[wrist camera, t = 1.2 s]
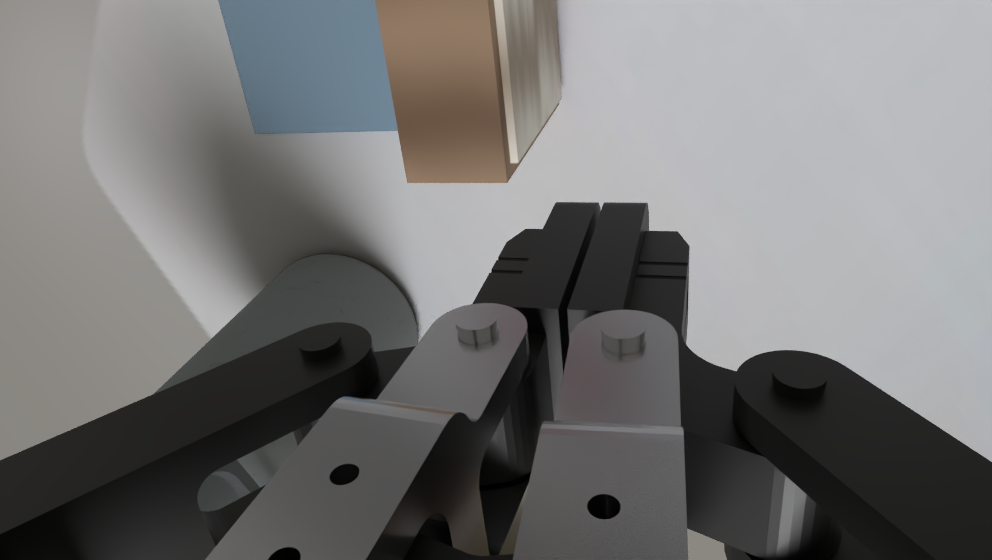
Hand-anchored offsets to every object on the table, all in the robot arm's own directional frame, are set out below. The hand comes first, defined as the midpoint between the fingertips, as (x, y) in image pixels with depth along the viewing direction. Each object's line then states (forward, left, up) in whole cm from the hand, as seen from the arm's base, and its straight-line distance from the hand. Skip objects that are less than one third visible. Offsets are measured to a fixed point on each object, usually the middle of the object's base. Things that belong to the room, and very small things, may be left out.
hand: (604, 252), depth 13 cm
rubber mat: (0, -17, -23) cm, 28 cm away
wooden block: (0, -8, -23) cm, 24 cm away
